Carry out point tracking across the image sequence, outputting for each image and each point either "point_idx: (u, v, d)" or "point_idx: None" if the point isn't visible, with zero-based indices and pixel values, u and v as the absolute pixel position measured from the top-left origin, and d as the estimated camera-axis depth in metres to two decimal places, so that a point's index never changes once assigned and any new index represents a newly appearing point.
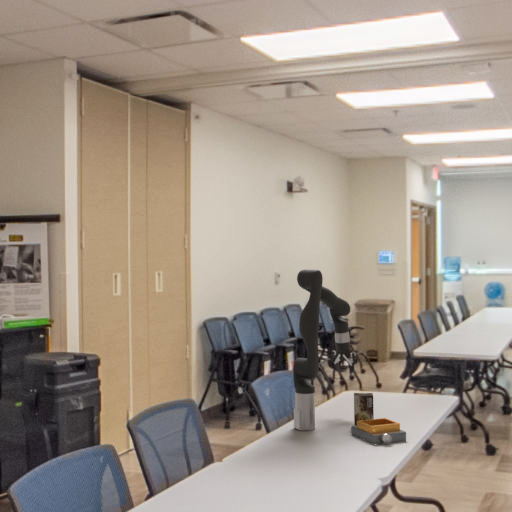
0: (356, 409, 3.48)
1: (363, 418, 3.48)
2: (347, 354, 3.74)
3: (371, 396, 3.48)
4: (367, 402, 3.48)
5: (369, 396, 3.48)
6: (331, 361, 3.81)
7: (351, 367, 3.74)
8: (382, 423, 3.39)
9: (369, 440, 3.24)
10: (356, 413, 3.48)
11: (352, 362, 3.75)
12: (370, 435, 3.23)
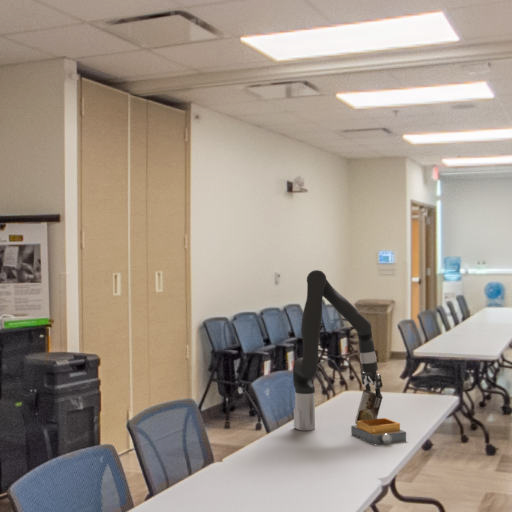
0: (362, 405, 3.48)
1: (367, 416, 3.48)
2: (372, 376, 3.48)
3: (380, 397, 3.47)
4: (375, 401, 3.48)
5: (378, 396, 3.47)
6: (362, 383, 3.57)
7: (376, 390, 3.46)
8: (382, 423, 3.39)
9: (369, 440, 3.24)
10: (361, 409, 3.48)
11: (378, 385, 3.47)
12: (370, 435, 3.23)
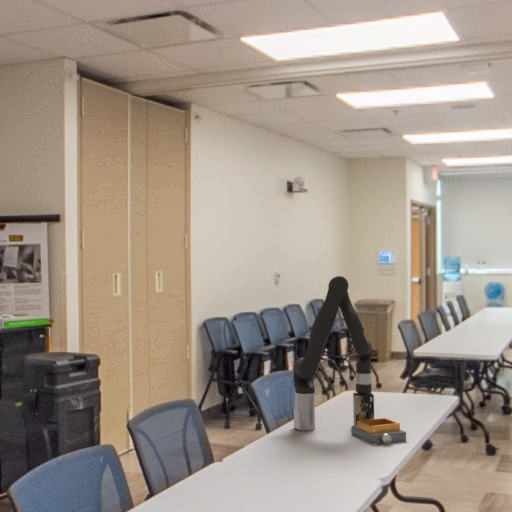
0: (357, 409, 3.48)
1: (364, 418, 3.48)
2: None
3: (372, 396, 3.48)
4: None
5: (370, 396, 3.48)
6: None
7: (366, 412, 3.47)
8: (382, 423, 3.39)
9: (369, 440, 3.24)
10: (357, 413, 3.48)
11: None
12: (370, 435, 3.23)
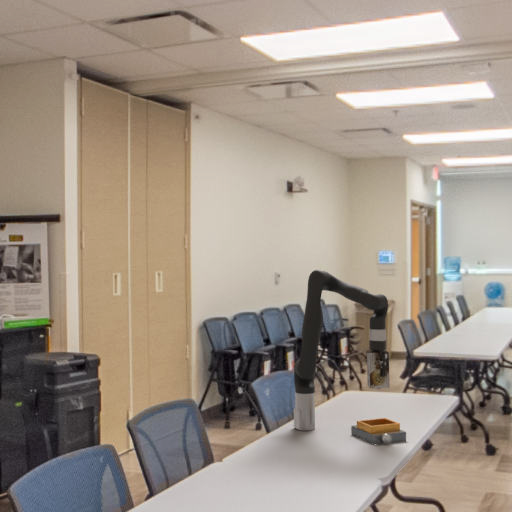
0: (371, 367, 3.29)
1: (378, 376, 3.29)
2: (379, 355, 3.29)
3: (387, 353, 3.29)
4: None
5: (385, 353, 3.29)
6: None
7: (381, 370, 3.28)
8: (382, 423, 3.39)
9: (369, 440, 3.24)
10: (371, 371, 3.29)
11: None
12: (370, 435, 3.23)
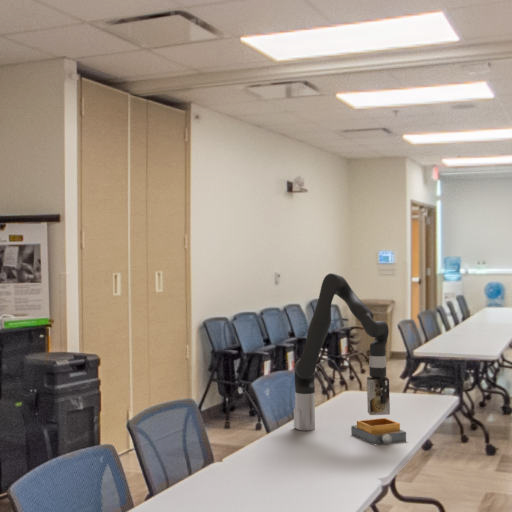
0: (371, 394, 3.29)
1: (379, 403, 3.29)
2: (379, 382, 3.29)
3: (387, 380, 3.29)
4: (382, 386, 3.29)
5: (385, 380, 3.29)
6: None
7: (381, 397, 3.28)
8: (382, 423, 3.39)
9: (369, 440, 3.24)
10: (371, 398, 3.29)
11: (384, 392, 3.29)
12: (370, 435, 3.23)
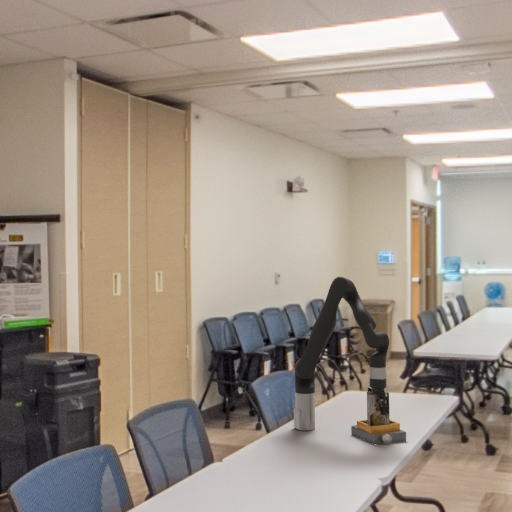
0: (371, 409, 3.29)
1: (379, 418, 3.29)
2: (379, 393, 3.29)
3: None
4: None
5: None
6: None
7: (381, 408, 3.27)
8: None
9: (369, 440, 3.24)
10: (371, 413, 3.29)
11: None
12: (370, 435, 3.23)
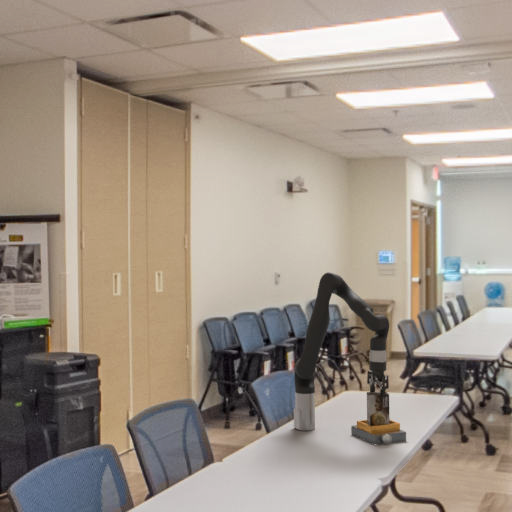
0: (371, 409, 3.29)
1: (379, 418, 3.29)
2: (379, 376, 3.29)
3: (387, 395, 3.29)
4: (382, 401, 3.29)
5: (385, 395, 3.29)
6: (367, 382, 3.38)
7: (381, 391, 3.27)
8: None
9: (369, 440, 3.24)
10: (371, 413, 3.29)
11: None
12: (370, 435, 3.23)
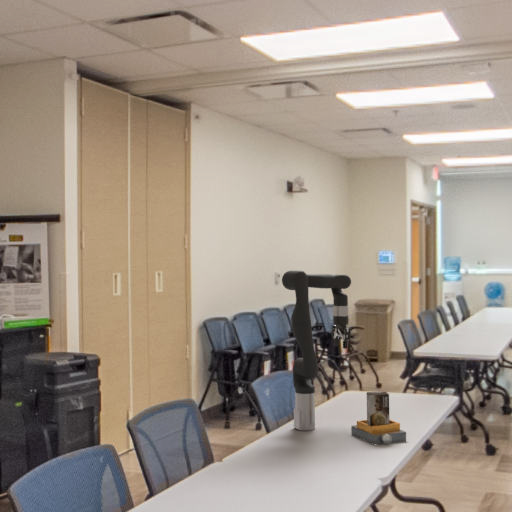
0: (371, 409, 3.29)
1: (379, 418, 3.29)
2: (341, 329, 3.64)
3: (387, 395, 3.29)
4: (382, 401, 3.29)
5: (385, 395, 3.29)
6: None
7: (343, 343, 3.62)
8: None
9: (369, 440, 3.24)
10: (371, 413, 3.29)
11: (346, 338, 3.63)
12: (370, 435, 3.23)
